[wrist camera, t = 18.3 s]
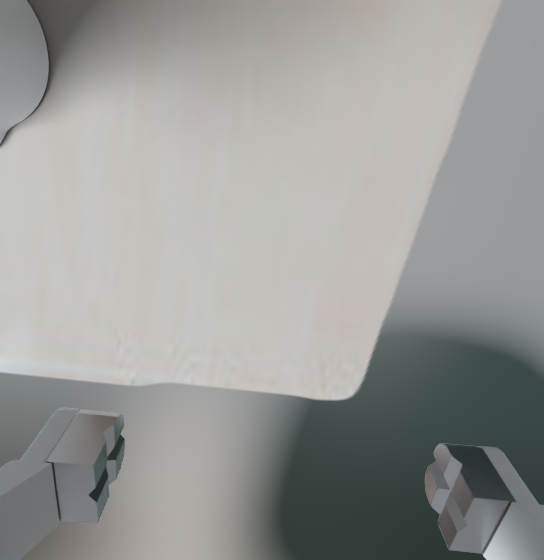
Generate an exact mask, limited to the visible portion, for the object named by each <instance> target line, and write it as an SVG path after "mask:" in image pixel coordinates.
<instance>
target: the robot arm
mask: <svg viewBox="0 0 544 560" xmlns="http://www.w3.org/2000/svg"><path fill="white" fill-rule="evenodd" d="M48 72H49V59H48V50H47V45H46V41H45V37H44V34H43V31H42V28H41V25H40V23H39V21H38V19H37V17H36V15H35V13H34V11H33V9H32V7H31V6H30V4H29V3H28V1H27V0H0V143H1V142H2V140H3V138H4V136H5V134H6V133H7V131H8V130H9V129H10V128H11V127H13V126H14V125H16V124H18V123H19V122H21V121H23V120H24V119H25V118H27V117H28V116H29V115H30V114H31V113H32V112H33V111H34V110H35V109H36V107H37V106H38V104H39V103H40V101H41V99H42V97H43V95H44V92H45V89H46V85H47V81H48ZM123 427H124V416H123V415H122V414H119V413H110V412H101V411H93V410H85V409H72V408H64V407H61V408H59V409H58V410H56V411H55V412H54V413H53V415H52V416H51V418H50V419H49V420H48V422H47V423H46V425H45V426H44V427H43V429H42V430H41V432H40V433H39V434H38V436H37V437H36V439H35V440H34V441H33V443H32V444H31V446H30V447H29V448H28V450H27V451H26V452H25V454H24V455H23V457H22V458H21V459H20V460H12V461H11V462H9V463H7V464H5V465H4V466H2V467H0V560H20V559H21V558H22V557H23V556H24V555H25V554H26V553H28V551H30V550H31V549H32V548H33V547H34V546H35V545H36V544H37V543H38V542H39V541H41V540H42V539H43V538H44V537H45V536H46V535H47V534H48V533H49V532H50V531H52V530H53V529H54V528H55V527H56V526H57V525H58V524H59V523H60V522H59V521H73V522H95V523H98V521H99V519H100V517H101V514H102V512H103V510H104V507H105V505H106V502H107V500H108V498H109V484H111V483H112V482H113V481H114V480H116V479H117V476H118V474H119V471H120V469H121V465H122V461H123V457H124V450H125V439H124V438H123V437H122V436H121V432H122V429H123ZM434 456H435V458H436V461H435V462H434V463H433V464H431V465H430V466H428V469H427V472H426V475H425V489H426V494H427V497H428V500H429V502H430V505H431V506H432V507H433V508H434V509H435V510H436V511H437V512H438V513H439V514H440V517H439V520H438V525H439V527H440V530H441V532H442V534H443V537H444V539H445V542H446V544H447V546H448V549H449V550H454V551H464V552H474V553H483V554H484V555H483V556H484V557H485V558H486V559H487V560H544V505H539V504H538V503H537V501H536V500H535V498H534V497H533V495H532V494H531V492H530V491H529V489H528V488H527V487H526V485H525V484H524V482H523V481H522V479H521V478H520V476H519V475H518V474H517V472H516V471H515V469H514V468H513V466H512V465H511V463H510V462H509V460H508V459H507V458H506V456H505V455H504V453H503V452H502V451H501V450H499V449H498V448H493V447H481V446H477V447H476V446H468V445H456V444H443V443H440V444H439V445H438V446H437V447H436V449H435V451H434Z"/></svg>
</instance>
